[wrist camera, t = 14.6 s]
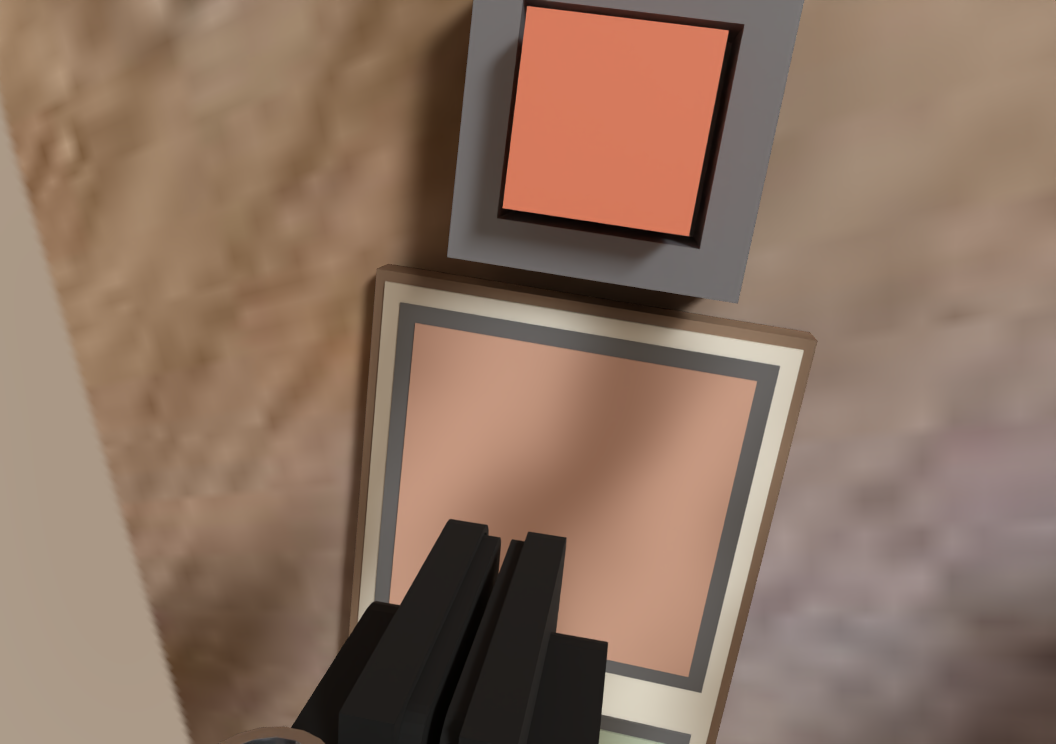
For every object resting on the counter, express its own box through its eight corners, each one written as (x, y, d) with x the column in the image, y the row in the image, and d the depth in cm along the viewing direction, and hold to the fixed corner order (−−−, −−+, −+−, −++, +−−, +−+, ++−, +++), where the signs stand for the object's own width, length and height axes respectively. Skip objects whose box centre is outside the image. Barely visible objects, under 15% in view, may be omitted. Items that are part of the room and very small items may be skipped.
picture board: (810, 332, 21) (818, 342, 20) (651, 966, 28) (651, 1001, 27) (388, 263, 22) (373, 269, 21) (338, 885, 29) (325, 915, 28)
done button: (716, 51, 18) (728, 30, 15) (682, 223, 19) (688, 236, 16) (548, 31, 18) (527, 6, 15) (526, 199, 19) (502, 208, 16)
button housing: (784, 2, 19) (809, -28, 16) (725, 281, 21) (737, 303, 18) (506, -30, 20) (480, -64, 16) (476, 242, 22) (446, 256, 19)
